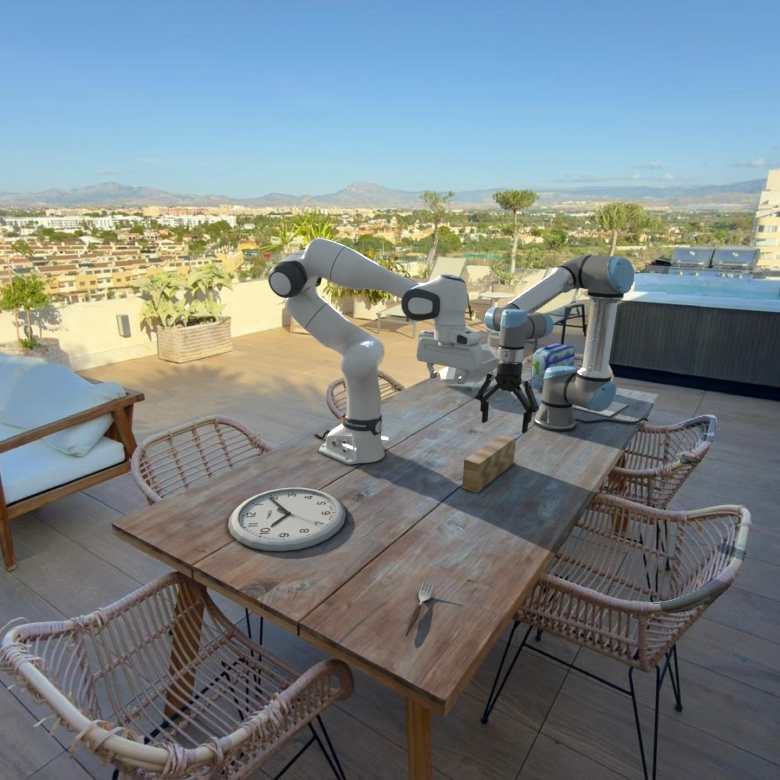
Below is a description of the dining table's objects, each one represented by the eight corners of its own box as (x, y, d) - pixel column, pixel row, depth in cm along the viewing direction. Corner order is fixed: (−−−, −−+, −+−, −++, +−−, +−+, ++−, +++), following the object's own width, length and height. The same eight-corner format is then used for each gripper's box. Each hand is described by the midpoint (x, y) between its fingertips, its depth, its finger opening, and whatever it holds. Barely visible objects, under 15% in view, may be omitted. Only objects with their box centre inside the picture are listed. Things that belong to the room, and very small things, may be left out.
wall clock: (346, 543, 123) (215, 547, 120) (346, 549, 123) (215, 553, 121) (345, 483, 151) (239, 485, 149) (345, 488, 152) (240, 490, 149)
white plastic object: (461, 429, 252) (437, 405, 227) (444, 352, 274) (420, 323, 250) (535, 404, 240) (518, 377, 215) (510, 326, 262) (492, 293, 237)
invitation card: (608, 416, 214) (573, 407, 224) (608, 416, 214) (573, 408, 224) (628, 404, 229) (594, 396, 238) (628, 405, 229) (594, 397, 238)
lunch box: (547, 395, 239) (552, 351, 233) (526, 390, 247) (530, 347, 240) (574, 384, 257) (579, 343, 251) (554, 380, 264) (558, 339, 258)
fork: (398, 636, 97) (399, 628, 97) (423, 584, 111) (423, 576, 111) (412, 640, 96) (412, 631, 96) (435, 587, 111) (435, 579, 110)
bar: (500, 459, 173) (502, 433, 170) (513, 463, 170) (516, 437, 168) (462, 488, 154) (463, 459, 151) (476, 493, 151) (478, 464, 148)
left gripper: (412, 330, 151) (411, 376, 155) (475, 340, 139) (472, 389, 144) (424, 327, 156) (423, 372, 160) (486, 336, 144) (483, 384, 148)
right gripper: (467, 356, 162) (463, 420, 169) (545, 370, 148) (537, 440, 154) (479, 352, 168) (474, 414, 174) (554, 365, 154) (547, 432, 160)
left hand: (447, 380), depth 152 cm, fingers open, 8 cm apart
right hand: (504, 426), depth 164 cm, fingers open, 13 cm apart
